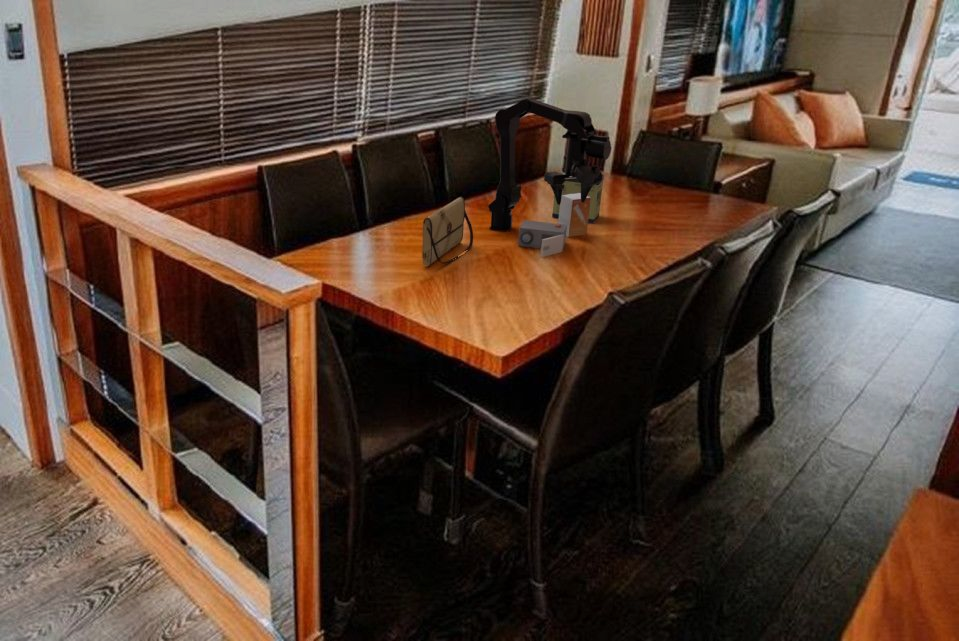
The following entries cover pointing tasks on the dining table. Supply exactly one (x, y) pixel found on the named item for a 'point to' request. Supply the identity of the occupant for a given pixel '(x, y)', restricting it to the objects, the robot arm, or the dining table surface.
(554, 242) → the side door
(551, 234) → the camera block
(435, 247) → the clutch purse
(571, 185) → the protein box
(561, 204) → the small box
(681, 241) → the dining table surface
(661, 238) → the dining table surface
